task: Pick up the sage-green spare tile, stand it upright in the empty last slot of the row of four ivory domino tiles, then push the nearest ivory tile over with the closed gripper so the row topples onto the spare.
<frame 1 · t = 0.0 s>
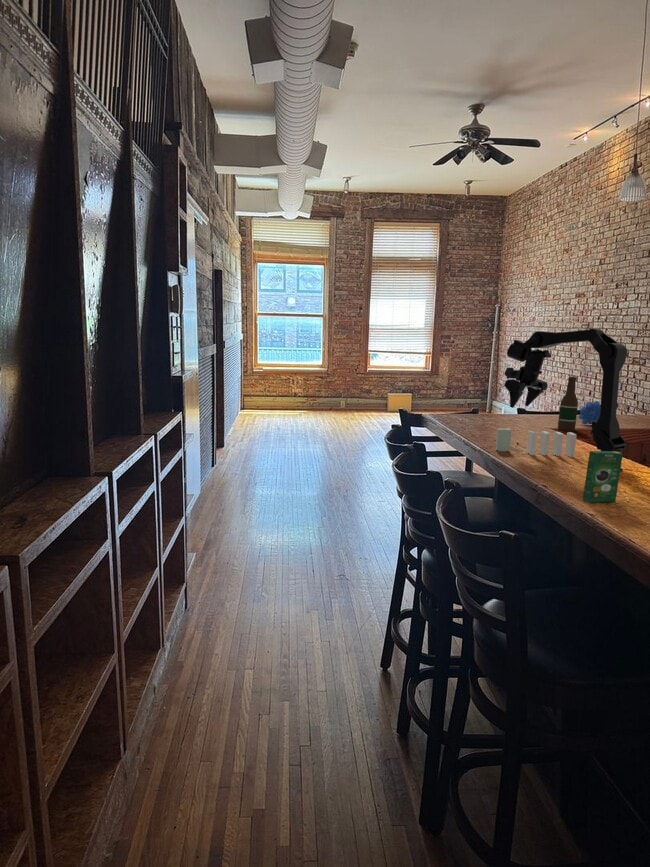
hand: (519, 406, 200), 15 cm above the table, tool pointing down, fingers open, 9 cm apart
domino 2: (556, 455, 193), on the table
beer bottle: (566, 430, 248), on the table
coffee box: (599, 502, 140), on the table
domino 3: (543, 454, 194), on the table
domino 1: (569, 455, 193), on the table
grapes: (590, 425, 264), on the table
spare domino: (502, 450, 197), on the table
domino 4: (530, 453, 194), on the table
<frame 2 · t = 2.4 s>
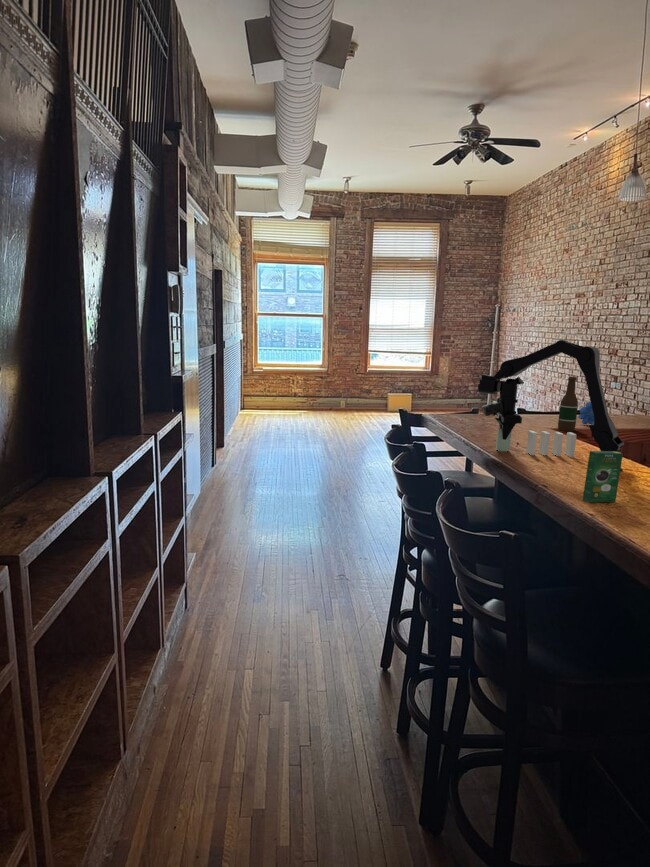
hand: (503, 439, 196), 4 cm above the table, tool pointing down, fingers closed on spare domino, 2 cm apart
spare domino: (502, 450, 197), on the table, touching gripper
everything else where it was.
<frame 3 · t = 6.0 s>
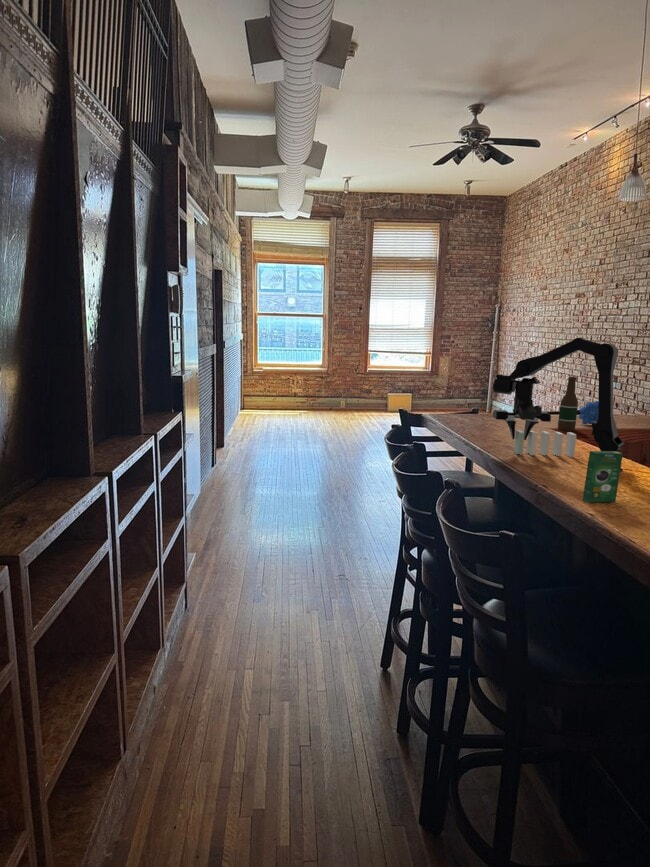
hand: (518, 439, 193), 5 cm above the table, tool pointing down, fingers open, 4 cm apart
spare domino: (517, 453, 194), on the table
domino 4: (530, 453, 194), on the table, touching gripper
everything else where it was.
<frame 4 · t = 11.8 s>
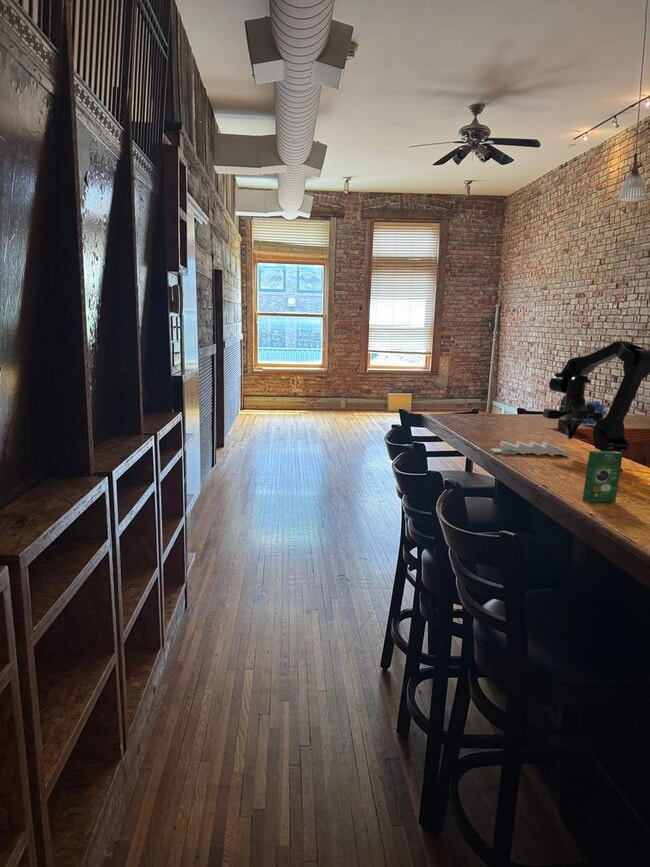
hand: (569, 438, 192), 6 cm above the table, tool pointing down, fingers closed
domino 2: (552, 452, 193), point 1 cm above the table, tilted 69°, touching domino 1, domino 3
domino 3: (538, 452, 194), point 1 cm above the table, tilted 72°, touching domino 2
domino 1: (565, 453, 193), point 1 cm above the table, tilted 69°, touching domino 2
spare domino: (515, 453, 194), on the table, tilted 90°, touching domino 4
domino 4: (523, 451, 194), point 1 cm above the table, tilted 73°, touching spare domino
everything else where it was.
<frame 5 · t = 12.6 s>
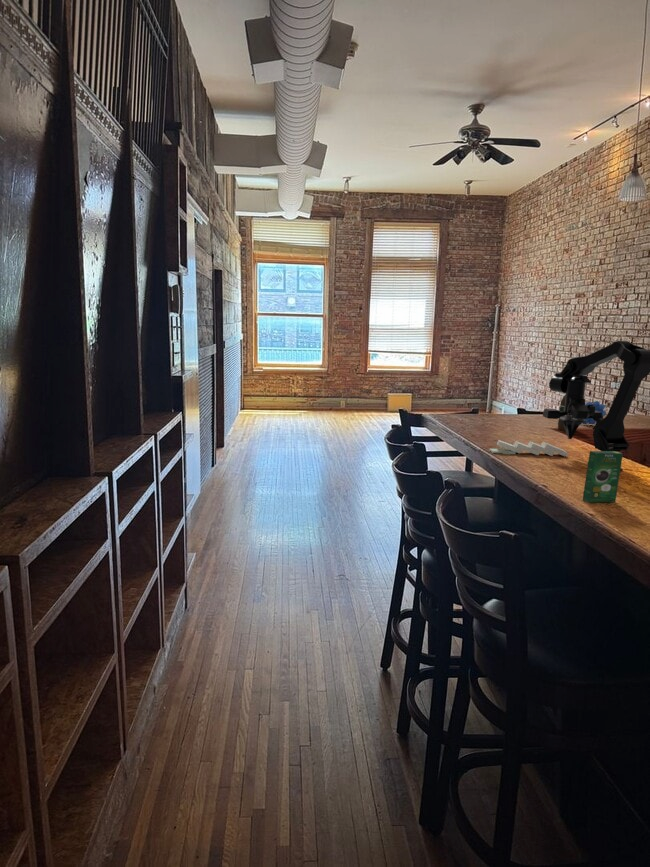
hand: (569, 438, 192), 6 cm above the table, tool pointing down, fingers closed
domino 4: (520, 450, 194), point 1 cm above the table, tilted 74°, touching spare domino
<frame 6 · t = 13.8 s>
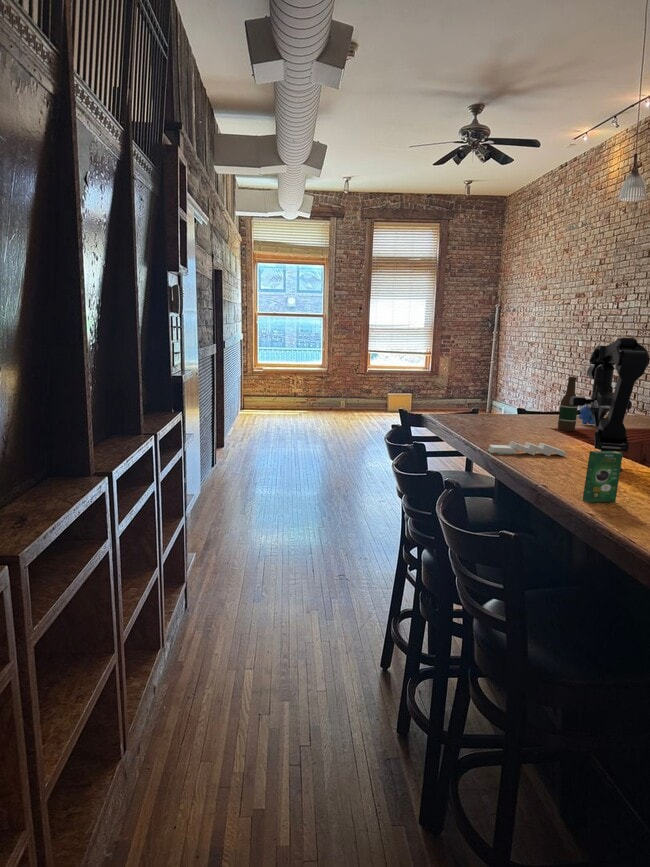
hand: (596, 426, 191), 11 cm above the table, tool pointing down, fingers closed
domino 2: (548, 452, 193), point 1 cm above the table, tilted 72°, touching domino 1, domino 3
domino 3: (531, 451, 193), point 1 cm above the table, tilted 71°, touching domino 2, domino 4
domino 1: (562, 453, 193), point 1 cm above the table, tilted 72°, touching domino 2
domino 4: (513, 449, 193), point 2 cm above the table, tilted 90°, touching domino 3, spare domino
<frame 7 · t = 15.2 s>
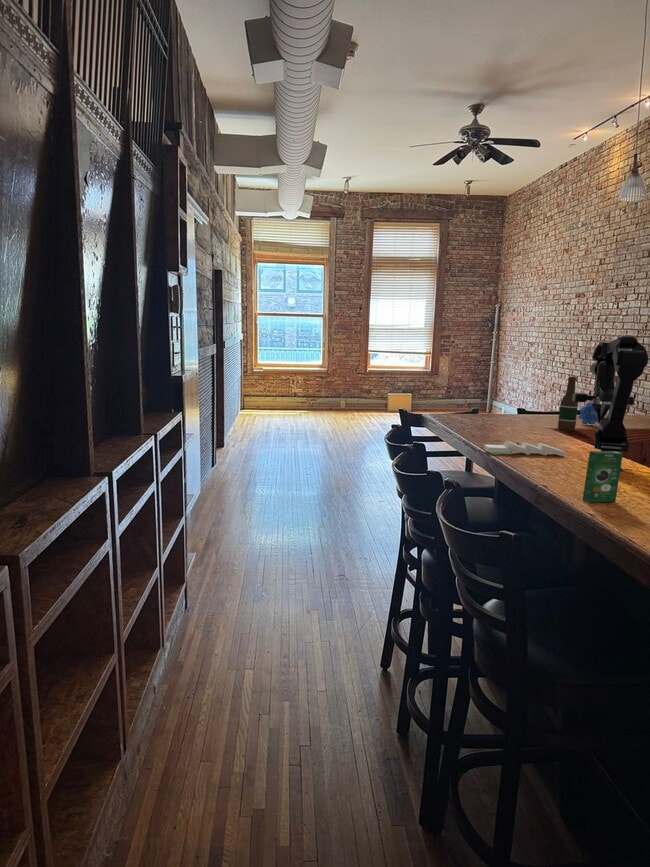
hand: (599, 423, 190), 12 cm above the table, tool pointing down, fingers closed
domino 2: (544, 452, 194), point 1 cm above the table, tilted 73°, touching domino 1, domino 3
domino 3: (526, 451, 194), point 1 cm above the table, tilted 71°, touching domino 2
domino 1: (561, 453, 193), point 1 cm above the table, tilted 74°, touching domino 2
domino 4: (508, 448, 193), point 2 cm above the table, tilted 90°, touching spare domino
at the end: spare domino tilted 90°; domino 1 tilted 74°; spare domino inside the target area (1.8 cm from its centre), on the table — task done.
